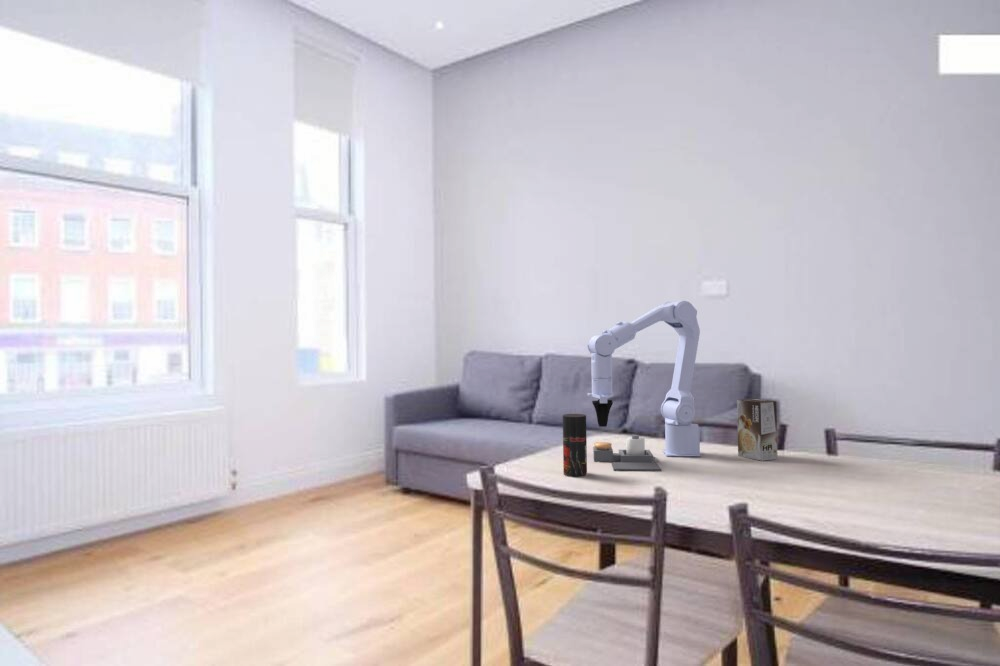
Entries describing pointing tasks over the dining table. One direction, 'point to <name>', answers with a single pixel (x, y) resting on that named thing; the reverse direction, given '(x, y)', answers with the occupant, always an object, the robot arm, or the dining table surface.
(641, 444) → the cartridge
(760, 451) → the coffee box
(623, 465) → the mat
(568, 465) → the deodorant
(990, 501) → the dining table surface
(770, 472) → the dining table surface
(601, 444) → the plunger
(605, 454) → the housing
